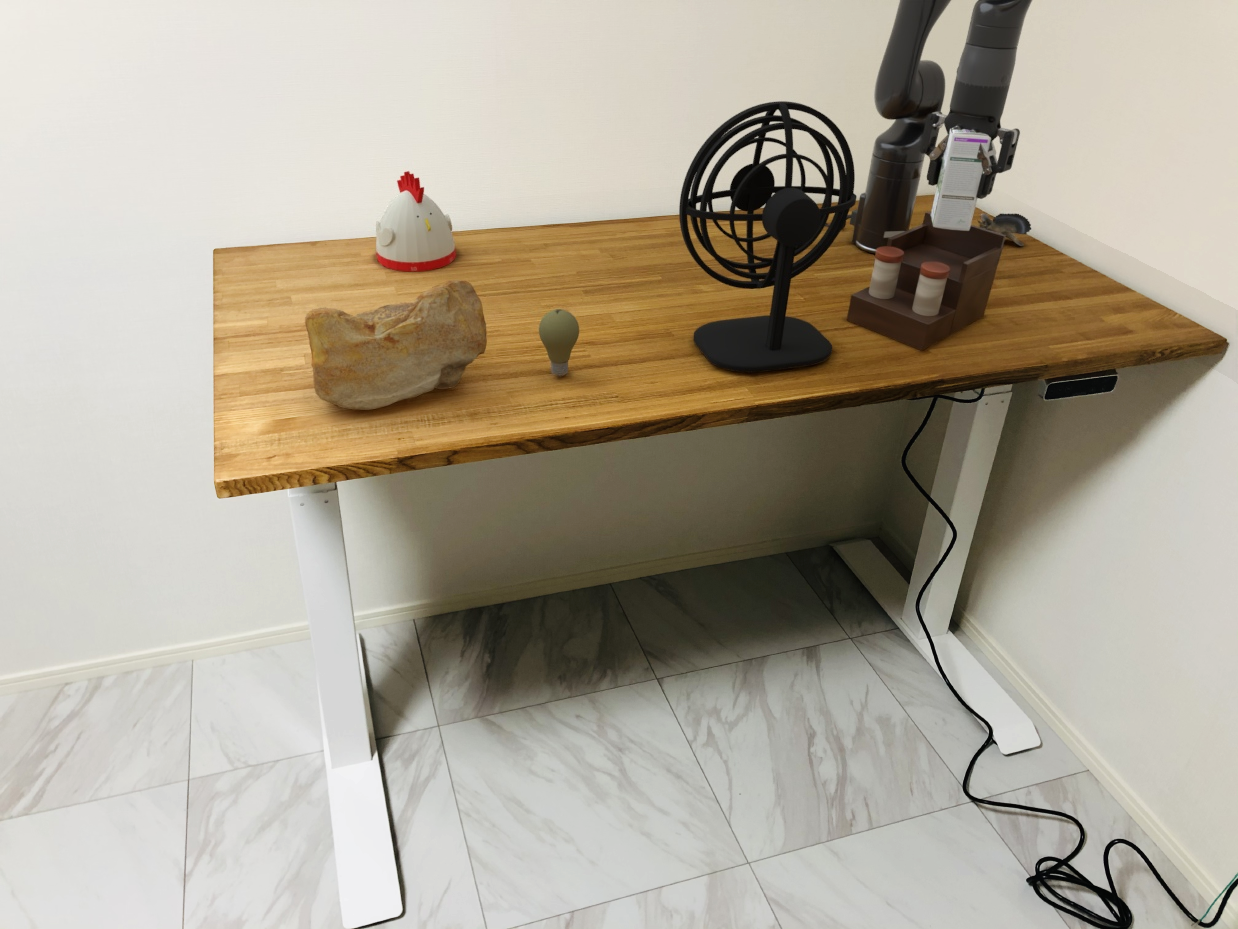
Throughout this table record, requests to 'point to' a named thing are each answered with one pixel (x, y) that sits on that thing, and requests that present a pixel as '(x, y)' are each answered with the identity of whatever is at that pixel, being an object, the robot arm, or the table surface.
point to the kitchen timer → (414, 231)
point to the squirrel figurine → (1006, 225)
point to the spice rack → (928, 283)
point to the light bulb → (559, 338)
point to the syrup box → (958, 180)
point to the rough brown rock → (396, 347)
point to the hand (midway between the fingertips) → (956, 190)
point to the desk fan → (767, 236)
